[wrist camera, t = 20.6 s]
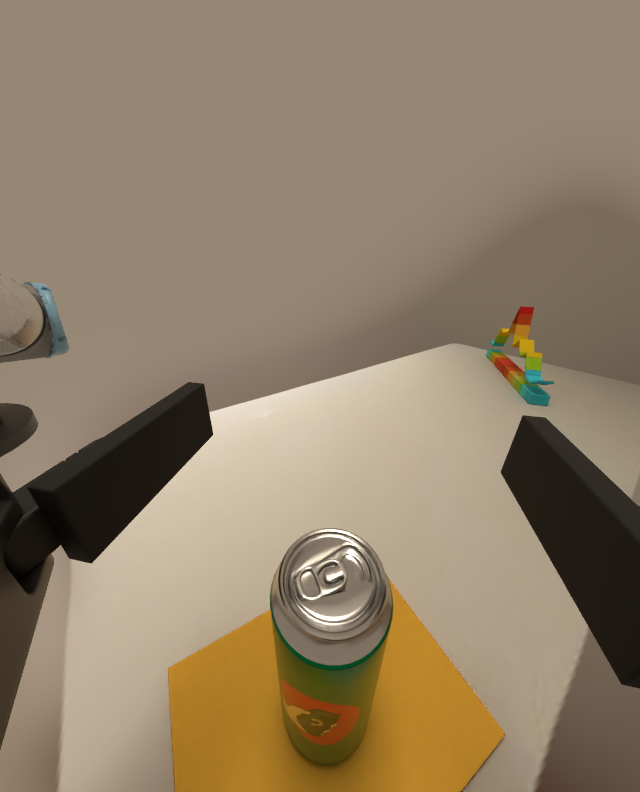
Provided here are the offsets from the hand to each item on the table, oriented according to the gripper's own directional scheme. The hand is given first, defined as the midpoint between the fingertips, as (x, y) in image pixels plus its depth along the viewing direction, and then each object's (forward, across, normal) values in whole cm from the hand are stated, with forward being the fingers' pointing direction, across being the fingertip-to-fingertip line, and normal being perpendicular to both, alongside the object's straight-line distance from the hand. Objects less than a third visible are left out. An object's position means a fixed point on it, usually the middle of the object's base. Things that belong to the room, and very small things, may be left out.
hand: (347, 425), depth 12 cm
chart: (+58, +33, -18) cm, 69 cm away
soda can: (-3, 0, -17) cm, 17 cm away
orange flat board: (-3, 0, -17) cm, 18 cm away
